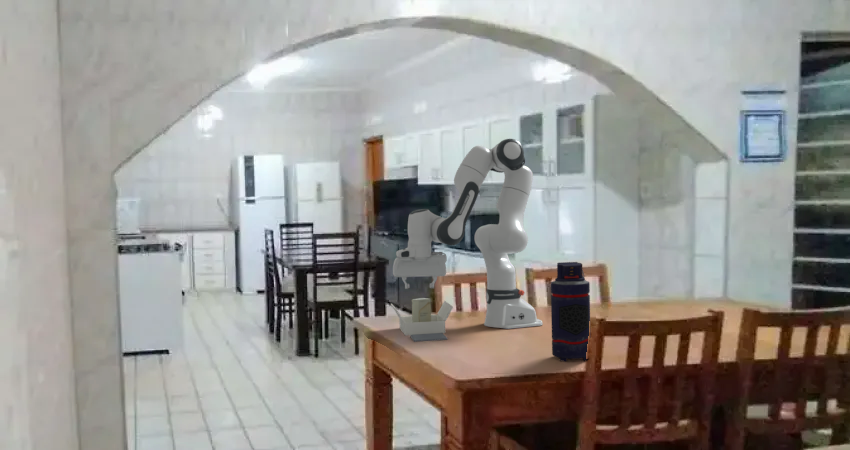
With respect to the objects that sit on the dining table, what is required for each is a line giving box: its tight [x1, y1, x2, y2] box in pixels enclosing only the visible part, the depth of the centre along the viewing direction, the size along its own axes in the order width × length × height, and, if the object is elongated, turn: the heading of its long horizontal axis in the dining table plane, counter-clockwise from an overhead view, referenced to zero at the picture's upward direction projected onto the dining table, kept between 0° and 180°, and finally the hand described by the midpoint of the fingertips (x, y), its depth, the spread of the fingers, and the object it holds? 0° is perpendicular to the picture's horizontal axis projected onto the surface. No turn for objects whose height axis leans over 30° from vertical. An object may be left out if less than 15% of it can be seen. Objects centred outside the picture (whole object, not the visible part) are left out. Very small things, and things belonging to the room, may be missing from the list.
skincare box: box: [411, 297, 432, 323], centre depth 304 cm, size 6×4×12 cm
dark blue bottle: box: [550, 261, 591, 363], centre depth 251 cm, size 14×12×30 cm
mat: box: [409, 333, 448, 343], centre depth 290 cm, size 12×10×1 cm
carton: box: [390, 300, 454, 336], centre depth 304 cm, size 22×15×10 cm
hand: (419, 288), depth 303 cm, fingers open, 8 cm apart
